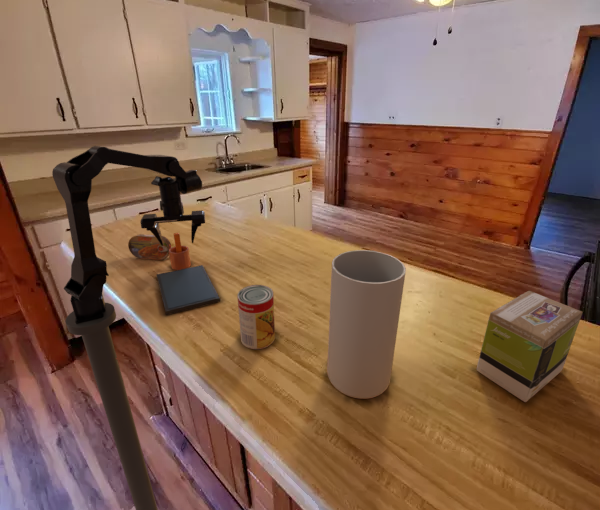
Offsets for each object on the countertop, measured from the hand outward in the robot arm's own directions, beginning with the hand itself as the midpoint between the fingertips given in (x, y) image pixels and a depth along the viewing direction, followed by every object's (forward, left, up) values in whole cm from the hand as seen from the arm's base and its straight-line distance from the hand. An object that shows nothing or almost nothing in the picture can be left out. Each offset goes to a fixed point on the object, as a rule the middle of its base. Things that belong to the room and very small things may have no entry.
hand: (177, 244), depth 109 cm
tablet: (-1, -16, -8) cm, 18 cm away
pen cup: (0, 0, -8) cm, 8 cm away
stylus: (0, 0, -7) cm, 7 cm away
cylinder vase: (+24, -66, -8) cm, 71 cm away
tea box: (+54, -80, -8) cm, 97 cm away
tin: (-8, +11, -8) cm, 16 cm away
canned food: (+10, -46, -8) cm, 48 cm away
